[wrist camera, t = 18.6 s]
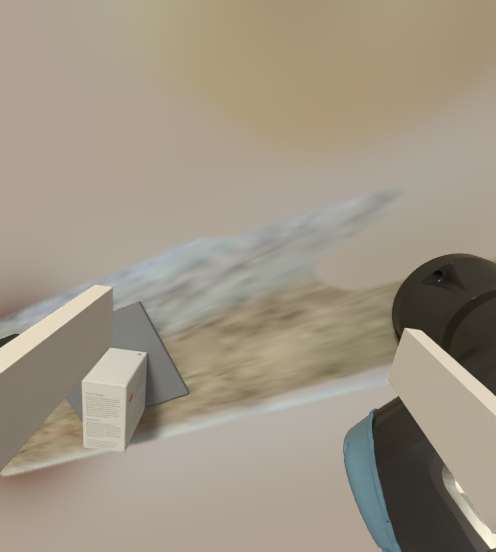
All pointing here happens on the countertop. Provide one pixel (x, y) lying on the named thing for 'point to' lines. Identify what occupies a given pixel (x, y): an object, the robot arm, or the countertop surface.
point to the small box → (114, 399)
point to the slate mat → (140, 337)
